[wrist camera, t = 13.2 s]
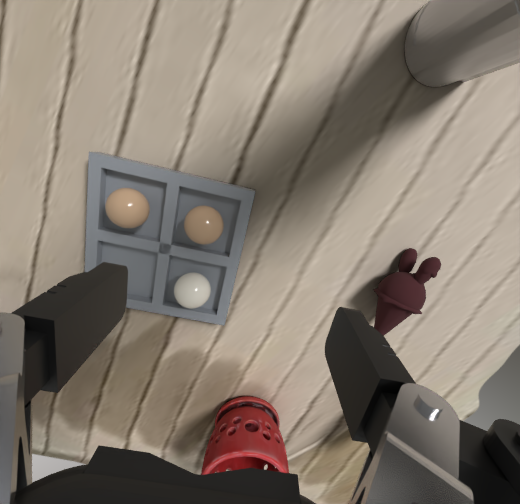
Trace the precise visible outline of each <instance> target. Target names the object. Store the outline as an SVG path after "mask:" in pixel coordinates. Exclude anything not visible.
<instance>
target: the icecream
mask: <svg viewBox="0 0 520 504" xmlns="http://www.w3.org/2000/svg"><path fill="white" fill-rule="evenodd" d="M416 259H417V251H416V250H415V249H412V248H409V249H407V250H405V252H404V253H403V255H402V256H401V259H400V263H399V272H395V273H393V274H390V275H388V276H387V277H385V278H384V279H383V280H382V281H381V282H380V283H379V285H378V288H376V289H373V290H374V292H376V294H377V295H378V303H377V310H376V317H375V325H374V328H375V329H376V330H377V331H378V332H380V333H381V334H382V335H383V336H384V335H385V334H386V333H388V332H389V331H390V330H392V329H393V328H394V327H396V326H397V325H398V324H399V323H401V322H402V321H403V320H405V319H406V318H407V317H409V316H410V315H411V314H412V313H413V314H422V312H421V311H420V309H421V308H422V307H423V305H424V302H425V299H426V290H425V287H424V283H425V282H427V281H428V280H429V279H430V278H431V277H433V278H435V277H436V276H437V272H438V271H439V270H440V267H441V263H440V260H439V259H438V258H436V257H431V258H428V259H426V260H424V261H423V262H422V263H421V265H420V267H419V269H418V270H417V272H416V273H413V274H411V273H410V271H411V270H412V269H413V267H414V265H415V263H416Z"/></svg>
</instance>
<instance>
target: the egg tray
mask: <svg viewBox="0 0 520 504" xmlns="http://www.w3.org/2000/svg"><path fill="white" fill-rule="evenodd" d="M120 188H132V189H135V190H137V191H139V192H141V193H142V194H143V195H144V196H145V197H146V199H147V200H148V202H149V206H150V213H149V216H148V218H147V220H146V221H145V222H144V223H143V224H142V225H140V226H138V227H136V228H122V227H119V226H117V225H116V224H114V223H113V222H112V221H111V220H110V219H109V218H108V216H107V214H106V210H105V203H106V200H107V198H108V196H109V195H110V194H111V193H112V192H113V191H115V190H117V189H120ZM254 196H255V190H254V189H250V188H246V187H242V186H238V185H233V184H229V183H225V182H221V181H217V180H213V179H209V178H204V177H200V176H196V175H192V174H188V173H184V172H180V171H176V170H171V169H167V168H163V167H159V166H155V165H151V164H147V163H142V162H138V161H134V160H130V159H126V158H122V157H118V156H113V155H109V154H105V153H101V152H89V163H88V190H87V218H86V246H85V272H89V271H90V270H92V269H93V268H95V267H96V266H98V265H99V264H101V263H102V262H108V263H114V264H119V265H124V266H126V267H127V268H128V285H127V304H126V308H131V309H137V310H142V311H148V312H153V313H159V314H164V315H170V316H175V317H181V318H186V319H192V320H197V321H203V322H208V323H213V324H219V325H225V321H226V317H227V312H228V308H229V304H230V299H231V295H232V291H233V286H234V282H235V278H236V273H237V269H238V265H239V260H240V256H241V252H242V247H243V243H244V239H245V234H246V230H247V226H248V221H249V217H250V213H251V209H252V204H253V200H254ZM202 205H204V206H210V207H212V208H214V209H216V210H217V211H218V212H219V213H220V215H221V217H222V219H223V223H224V228H223V232H222V234H221V236H220V237H219V239H217V240H216V241H215V242H213V243H211V244H206V245H202V244H198V243H195V242H193V241H192V240H191V239H190V238H189V237H188V236H187V234H186V232H185V230H184V220H185V217H186V215H187V214H188V212H189V211H190V210H191V209H193V208H195V207H197V206H202ZM191 272H195V273H199V274H202V275H203V276H205V277H206V278H207V280H208V281H209V283H210V287H211V293H210V296H209V299H208V300H207V302H206V303H205V304H203V305H202V306H200V307H198V308H193V309H190V308H186V307H183V306H182V305H180V304H179V303H178V302H177V300H176V299H175V296H174V286H175V284H176V282H177V280H178V279H179V278H180V277H181V276H182V275H184V274H187V273H191Z"/></svg>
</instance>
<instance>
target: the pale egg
mask: <svg viewBox="0 0 520 504" xmlns="http://www.w3.org/2000/svg"><path fill="white" fill-rule="evenodd" d="M210 293H211V287H210V283H209V281H208V280H207V278H206V277H205V276H203V275H202V274H199V273H195V272H191V273H187V274H184V275H182V276H181V277H180V278H179V279H178V280H177V282H176V284H175V286H174V296H175V299H176V300H177V302H178V303H179V304H180V305H182V306H183V307H186V308H190V309H193V308H198V307H200V306H202V305H203V304H205V303H206V302H207V300H208V299H209V296H210Z"/></svg>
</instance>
